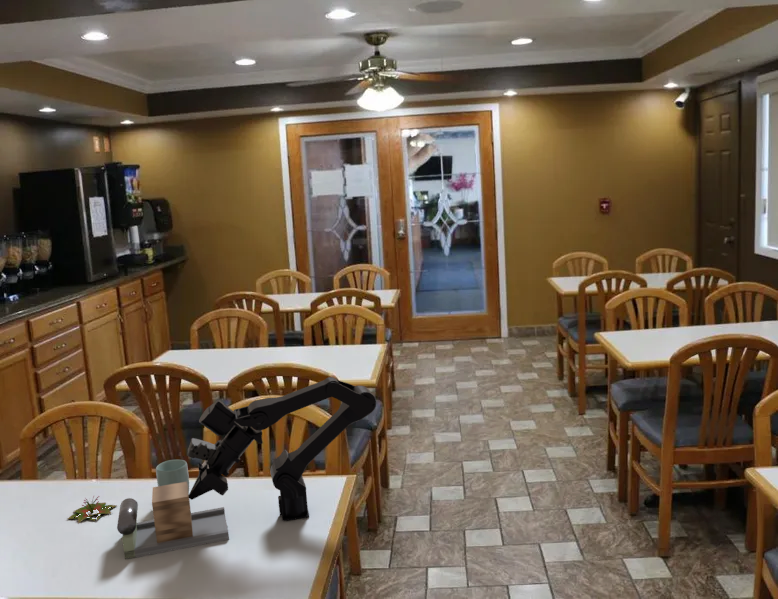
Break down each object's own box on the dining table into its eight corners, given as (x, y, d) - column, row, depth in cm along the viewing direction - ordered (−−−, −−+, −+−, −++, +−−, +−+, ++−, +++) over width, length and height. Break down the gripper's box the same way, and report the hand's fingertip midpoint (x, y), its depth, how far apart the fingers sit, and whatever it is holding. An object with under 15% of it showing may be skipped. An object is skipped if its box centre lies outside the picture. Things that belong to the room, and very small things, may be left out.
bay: (224, 513, 186) (221, 479, 184) (229, 539, 173) (225, 503, 171) (124, 532, 179) (119, 497, 178) (120, 560, 166) (115, 522, 165)
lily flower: (87, 502, 199) (84, 486, 198) (126, 505, 196) (124, 488, 195) (57, 524, 187) (54, 507, 186) (98, 526, 184) (95, 509, 183)
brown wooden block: (191, 519, 181) (187, 481, 179) (192, 536, 172) (188, 496, 171) (157, 526, 179) (152, 487, 177) (157, 543, 170) (151, 503, 169)
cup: (182, 508, 191) (178, 471, 189) (154, 507, 192) (150, 470, 190) (196, 495, 198) (191, 459, 196) (169, 494, 200) (164, 459, 198)
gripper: (204, 415, 183) (162, 465, 182) (207, 440, 165) (161, 495, 164) (239, 440, 186) (198, 489, 185) (246, 467, 169) (202, 522, 168)
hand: (189, 498), depth 176 cm, fingers closed, pressing on brown wooden block
